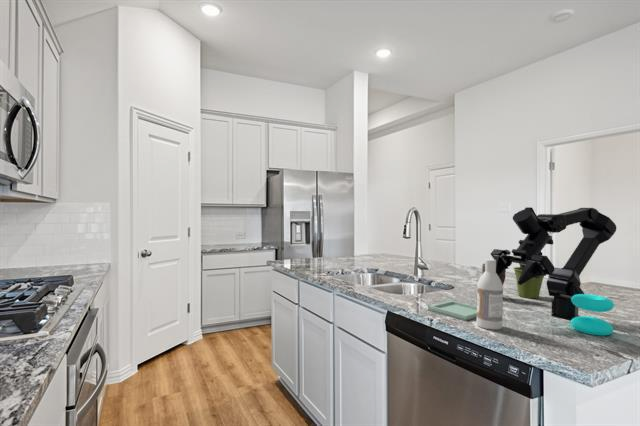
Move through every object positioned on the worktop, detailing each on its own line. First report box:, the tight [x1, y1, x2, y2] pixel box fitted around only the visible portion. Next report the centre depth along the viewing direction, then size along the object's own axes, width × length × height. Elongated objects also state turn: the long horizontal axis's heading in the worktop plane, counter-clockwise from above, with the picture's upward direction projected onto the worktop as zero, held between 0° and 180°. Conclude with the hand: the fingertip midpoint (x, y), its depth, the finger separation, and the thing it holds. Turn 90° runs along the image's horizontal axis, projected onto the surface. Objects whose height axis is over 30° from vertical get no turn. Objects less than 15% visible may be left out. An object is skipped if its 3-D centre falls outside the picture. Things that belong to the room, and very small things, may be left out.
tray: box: [427, 300, 477, 322], centre depth 122 cm, size 14×14×2 cm
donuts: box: [570, 293, 615, 337], centre depth 105 cm, size 10×10×10 cm
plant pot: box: [512, 266, 545, 299], centre depth 147 cm, size 12×12×11 cm
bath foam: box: [476, 258, 504, 331], centre depth 107 cm, size 7×7×20 cm
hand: (505, 281), depth 109 cm, fingers open, 9 cm apart
